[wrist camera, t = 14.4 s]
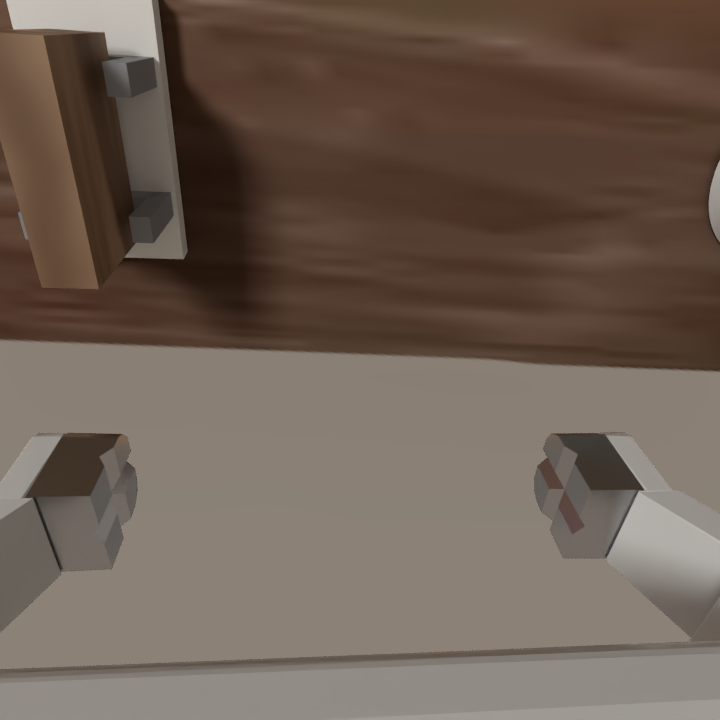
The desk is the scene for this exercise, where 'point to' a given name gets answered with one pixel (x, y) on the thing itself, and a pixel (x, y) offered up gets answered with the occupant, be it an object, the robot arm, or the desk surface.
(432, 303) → the desk surface
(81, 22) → the white and grey rack
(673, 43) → the desk surface
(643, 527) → the robot arm
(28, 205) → the door panel
